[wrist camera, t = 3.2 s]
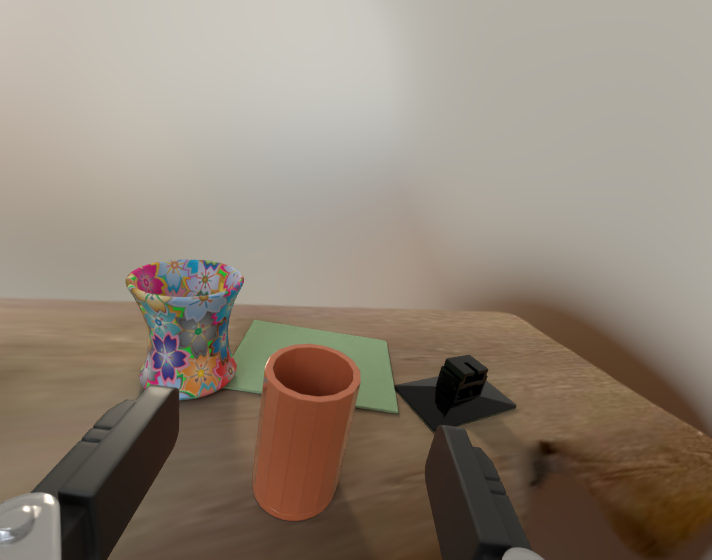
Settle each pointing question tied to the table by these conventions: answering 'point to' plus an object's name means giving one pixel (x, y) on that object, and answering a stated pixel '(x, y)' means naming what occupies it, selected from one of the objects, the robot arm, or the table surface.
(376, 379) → the placemat
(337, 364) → the pot
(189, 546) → the table surface
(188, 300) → the mug
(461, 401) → the black stand
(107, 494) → the robot arm
